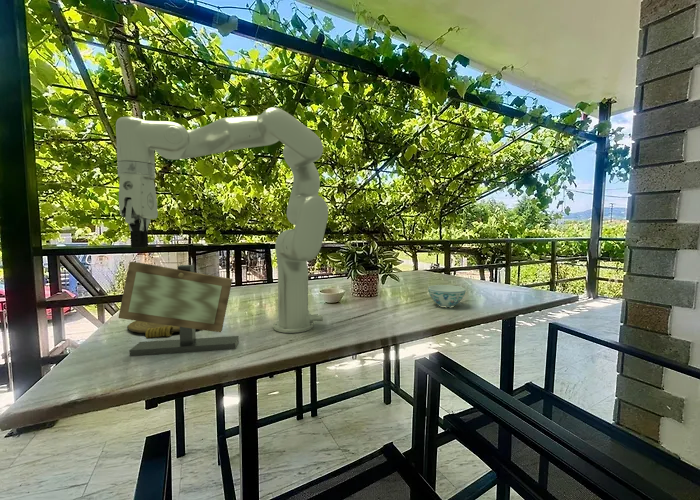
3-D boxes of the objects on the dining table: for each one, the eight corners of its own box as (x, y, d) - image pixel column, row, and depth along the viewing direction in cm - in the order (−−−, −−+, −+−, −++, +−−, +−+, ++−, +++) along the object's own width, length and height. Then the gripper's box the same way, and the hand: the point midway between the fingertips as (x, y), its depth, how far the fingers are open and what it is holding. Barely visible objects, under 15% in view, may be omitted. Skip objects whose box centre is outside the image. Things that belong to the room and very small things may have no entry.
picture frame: (222, 330, 84) (232, 278, 84) (220, 332, 82) (231, 280, 82) (122, 316, 79) (133, 261, 79) (117, 318, 77) (128, 262, 77)
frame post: (238, 341, 89) (237, 263, 88) (235, 348, 83) (233, 266, 82) (140, 347, 84) (137, 265, 83) (129, 356, 78) (126, 268, 77)
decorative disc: (228, 305, 125) (217, 323, 96) (228, 314, 125) (217, 334, 96) (145, 310, 117) (107, 331, 88) (145, 319, 117) (107, 343, 88)
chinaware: (471, 311, 124) (471, 291, 123) (432, 310, 124) (433, 291, 123) (458, 302, 139) (458, 284, 138) (424, 302, 139) (424, 284, 138)
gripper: (140, 166, 70) (143, 249, 71) (165, 177, 85) (167, 245, 86) (101, 165, 69) (105, 249, 70) (134, 176, 83) (136, 246, 84)
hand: (139, 247), depth 78 cm, fingers closed
